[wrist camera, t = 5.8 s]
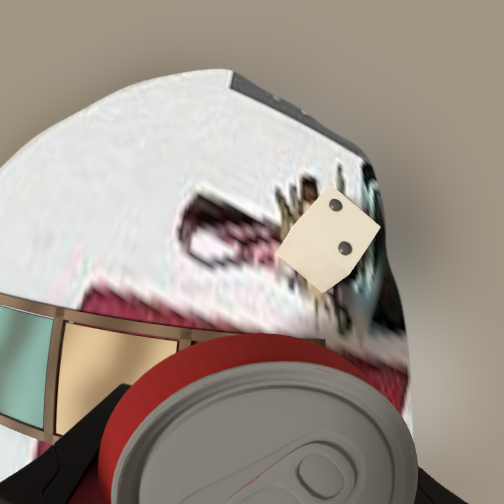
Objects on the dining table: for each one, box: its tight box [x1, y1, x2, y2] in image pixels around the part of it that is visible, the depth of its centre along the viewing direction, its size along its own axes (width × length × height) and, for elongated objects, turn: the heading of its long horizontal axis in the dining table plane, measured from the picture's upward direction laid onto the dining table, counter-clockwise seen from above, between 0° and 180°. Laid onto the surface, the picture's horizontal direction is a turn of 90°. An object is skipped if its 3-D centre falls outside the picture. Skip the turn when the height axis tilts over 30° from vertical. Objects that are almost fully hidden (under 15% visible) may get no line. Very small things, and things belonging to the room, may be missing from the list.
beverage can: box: [98, 333, 418, 504], centre depth 9 cm, size 7×7×12 cm
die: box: [276, 185, 380, 293], centre depth 24 cm, size 5×5×5 cm
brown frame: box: [0, 294, 325, 445], centre depth 19 cm, size 31×11×1 cm, turn 86°
